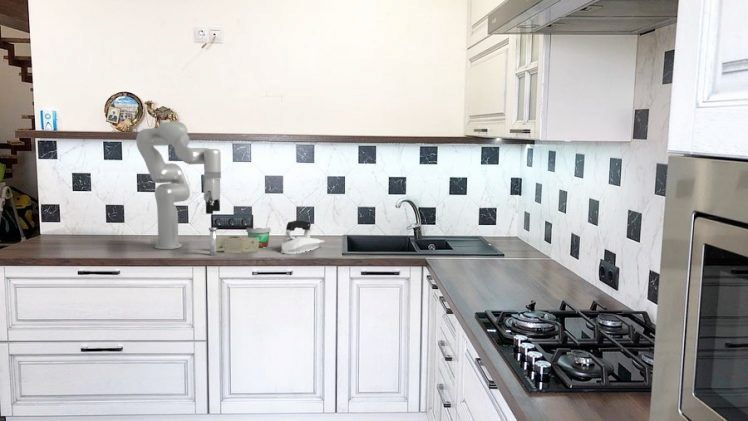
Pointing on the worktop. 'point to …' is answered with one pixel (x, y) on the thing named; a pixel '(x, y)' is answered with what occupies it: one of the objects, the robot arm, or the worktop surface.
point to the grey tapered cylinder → (213, 241)
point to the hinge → (237, 244)
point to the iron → (299, 239)
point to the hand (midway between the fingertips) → (213, 212)
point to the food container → (259, 235)
